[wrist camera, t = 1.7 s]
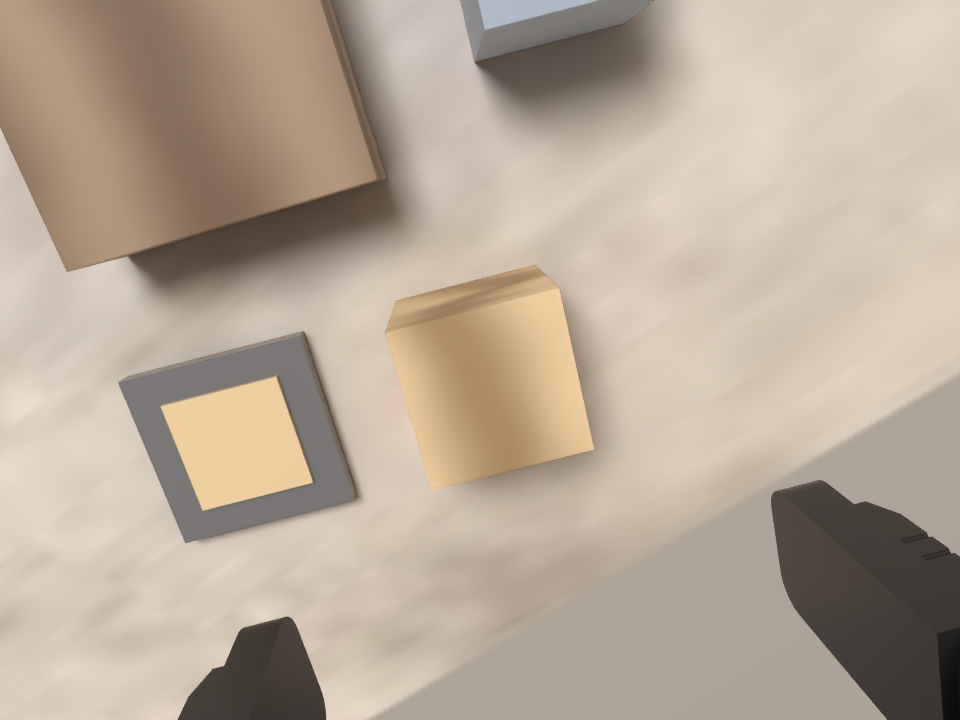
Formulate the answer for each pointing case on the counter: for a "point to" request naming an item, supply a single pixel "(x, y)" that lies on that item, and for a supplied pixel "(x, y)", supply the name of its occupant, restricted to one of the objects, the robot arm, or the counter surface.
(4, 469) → the counter surface
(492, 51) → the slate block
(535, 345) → the oak block
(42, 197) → the base block
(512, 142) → the counter surface
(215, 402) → the tile
